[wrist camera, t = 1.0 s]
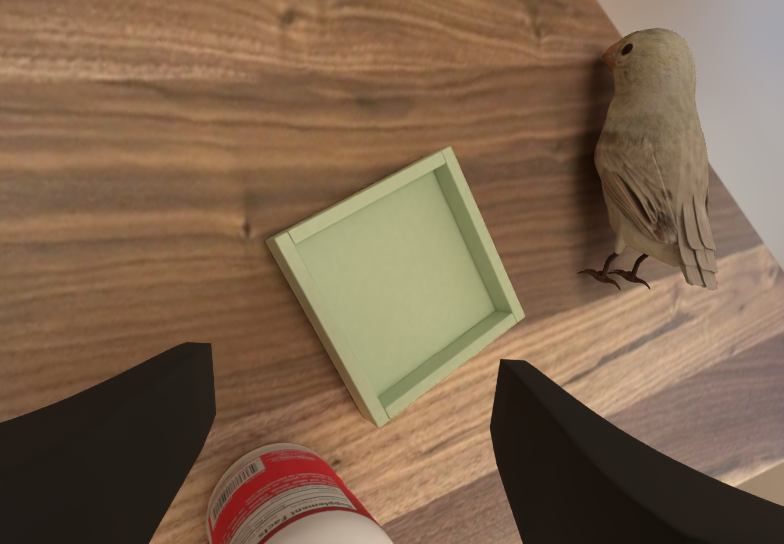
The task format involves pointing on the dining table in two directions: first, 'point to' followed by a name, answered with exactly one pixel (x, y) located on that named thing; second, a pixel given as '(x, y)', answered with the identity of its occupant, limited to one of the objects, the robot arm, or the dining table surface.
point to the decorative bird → (656, 159)
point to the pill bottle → (287, 502)
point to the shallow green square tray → (399, 283)
